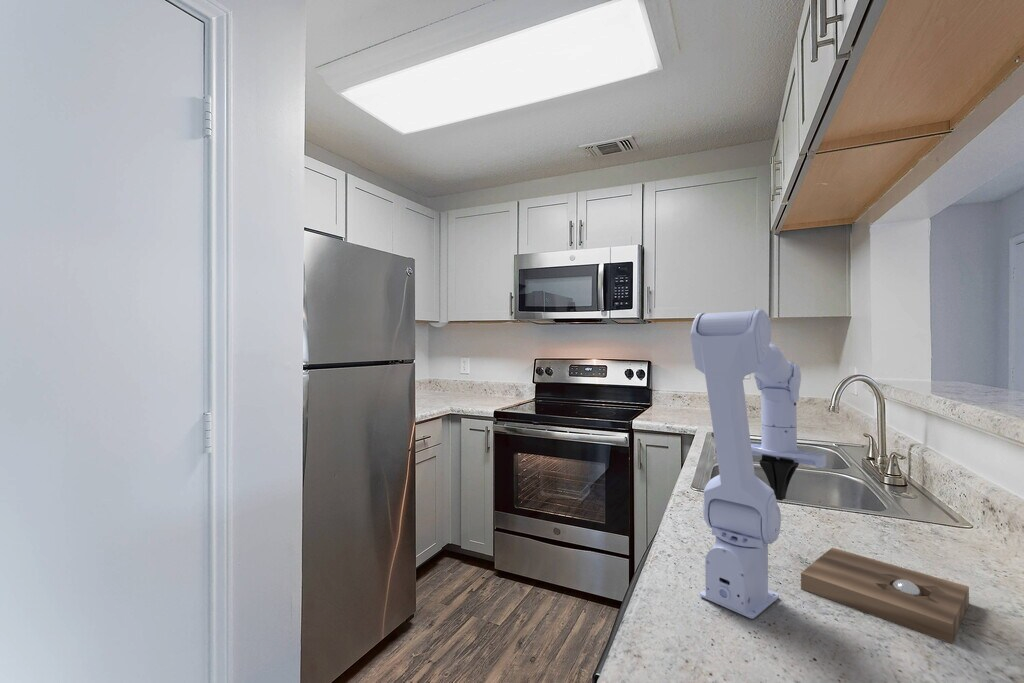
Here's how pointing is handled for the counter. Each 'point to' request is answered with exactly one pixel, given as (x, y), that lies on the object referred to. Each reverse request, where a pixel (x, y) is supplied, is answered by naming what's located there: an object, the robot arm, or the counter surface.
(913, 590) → the steel ball
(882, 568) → the walnut plate
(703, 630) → the counter surface
